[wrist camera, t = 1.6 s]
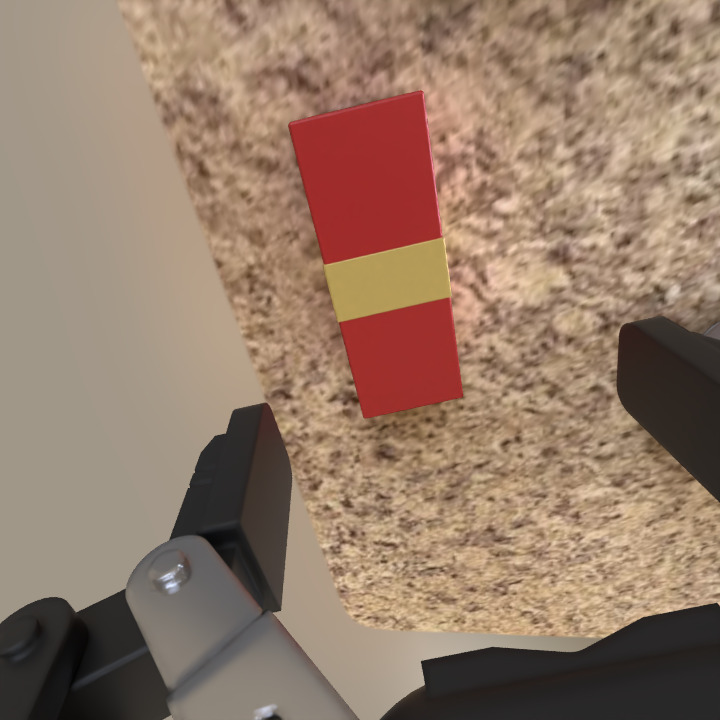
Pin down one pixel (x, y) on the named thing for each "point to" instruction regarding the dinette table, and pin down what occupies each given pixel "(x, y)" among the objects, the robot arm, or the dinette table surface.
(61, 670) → the robot arm
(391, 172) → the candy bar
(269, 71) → the dinette table surface
